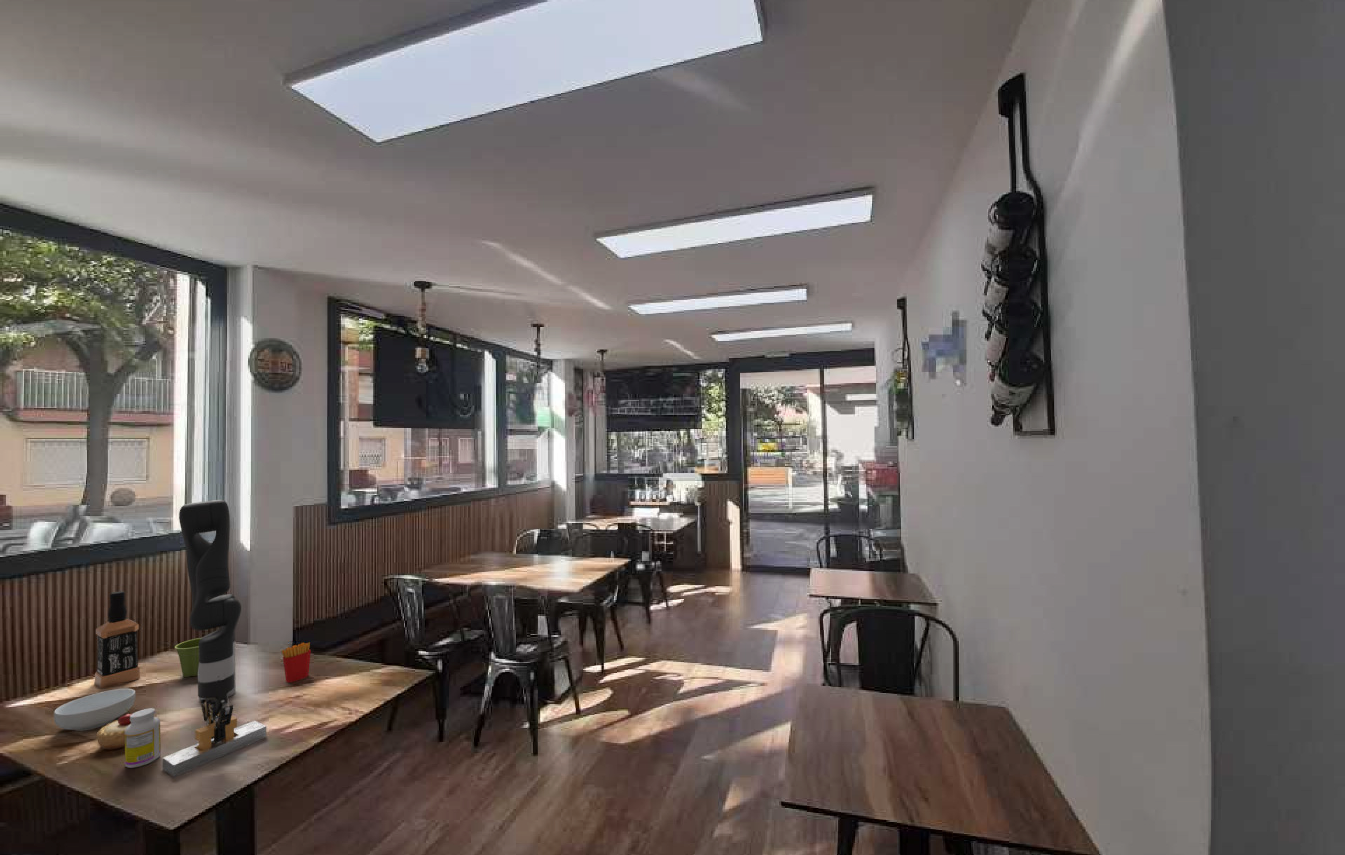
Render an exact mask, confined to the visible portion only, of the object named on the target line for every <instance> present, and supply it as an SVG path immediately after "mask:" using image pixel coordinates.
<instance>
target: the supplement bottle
mask: <svg viewBox="0 0 1345 855" xmlns="http://www.w3.org/2000/svg"><path fill="white" fill-rule="evenodd" d="M132 713H133V714H132V715H131V716H130V721H131V724H130V725H129V726H128V727H127V728H126V729H125V747H124V760H125V761H124V762H125V767H126V768H130V769H134V768H139V767H143V766H145V765H147V764H151V763H152V762H154V761H156V760H157V759H159V758H160V755H161V754H162V753H161V751H162V750H161V748H162V746H161V719H160V718H159V717H157V716H156V717H154V715H156V709H155V708H154V707H153V708H150V707H149V708H145V709H141V710H138V711H136V712H132Z"/></svg>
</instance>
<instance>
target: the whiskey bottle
mask: <svg viewBox="0 0 1345 855" xmlns="http://www.w3.org/2000/svg"><path fill="white" fill-rule="evenodd" d="M125 594H126V592H125V591H123V590H120V591H119V590H118V591H113V592H111V593H110V595H109V603H110V605H109V608H108V611H107V612H108V613H107V617H108V618H107V619H108V621H107V622H105V623H103V624H102V625H100V626H98V627H97V628H95V635H97V652H96V654H97V655H96V672H95V673H94V684H95V685H96V687H98V688H99V689H100V690H102V689H103V690H104V689H108V688H111V687H115V686H119V685H122V684H125V683H129V682H133V681H135V680H139V679H141V672H140V667H139V665H138V664H139V663H138V662H139V661H138V656H139V655H138V633H137V631H138V630H139V628H140V626H139V625H140V624H139V623H137V622H135V621H134V620H131V619H128V618H127V613H128V611H127V606H126V604H125V601H126V598H125V597H126V595H125Z"/></svg>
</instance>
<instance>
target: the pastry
mask: <svg viewBox="0 0 1345 855" xmlns="http://www.w3.org/2000/svg"><path fill="white" fill-rule="evenodd" d="M125 709H126V710H127V712H128V713H127V714H126V713H125V714H123V715H121V716H120V717H118V718H117V719H114V720H113V721H112V722H110V723H108V724H106V725H104V726H101V727H100V729H99V730H98V732H97V733H96V742H97V744H98V745H99V747H101V748H102V749H104V750H109V751H110V750H112V751H113V750H119V749H123V748H125V729H126V728H127V727H128V726H129V725H130V724H131V721H130V716H131V715H132V714H133V713H134V712H130V711H129V710H128V709H127V708H125ZM154 717H157V715H156V714H155V715H154Z"/></svg>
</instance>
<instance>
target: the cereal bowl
mask: <svg viewBox="0 0 1345 855" xmlns="http://www.w3.org/2000/svg"><path fill="white" fill-rule="evenodd" d="M135 700H136V690H135V689H133V688H116V689H110V690H106V691H101V692H97V693H93V694H89V695H86V696H83V697H79V698H77V699H74V700H71V701H69V702H66V703H64V704H62V705H60V706H58V707H57V708H56V709H55V710H54V713H53V720H54V723H55V724H56V726H57V727H58V728H60V729H63V730H72V731H73V730H74V731H79V732H85V731H90V730H94V729H95V730H96V729H98V728H102V727H105V726H106V725H107V724H108V723H109V724H111V723H112V722H113V721H115V720H117V719H119V718H120V717H121V716H123V715H125V714H126V713H127V712H128V711H129V710H130V709H131V708H132V706H133V705H134V704H135ZM125 708H127V709H128V711H127V710H126V709H125Z"/></svg>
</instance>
